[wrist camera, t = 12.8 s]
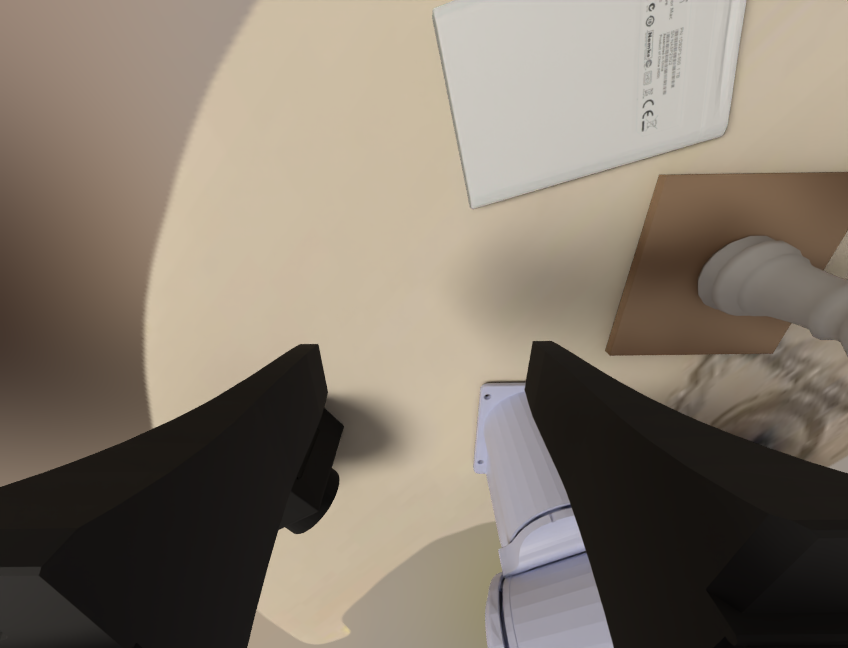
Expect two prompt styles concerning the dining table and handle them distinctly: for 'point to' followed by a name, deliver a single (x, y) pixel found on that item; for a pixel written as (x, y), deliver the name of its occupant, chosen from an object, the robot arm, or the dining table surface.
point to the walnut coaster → (702, 237)
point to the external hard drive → (581, 85)
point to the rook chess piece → (776, 287)
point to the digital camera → (314, 479)
